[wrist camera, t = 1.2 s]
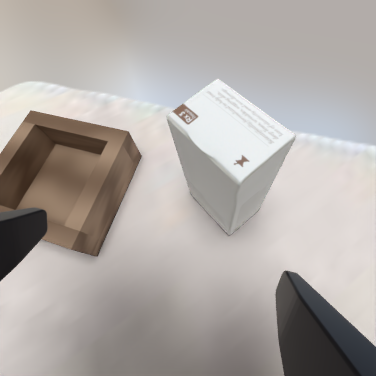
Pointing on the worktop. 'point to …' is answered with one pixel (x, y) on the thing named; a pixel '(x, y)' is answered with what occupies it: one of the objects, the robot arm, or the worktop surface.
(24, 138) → the walnut socket
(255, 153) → the skincare box
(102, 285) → the worktop surface
